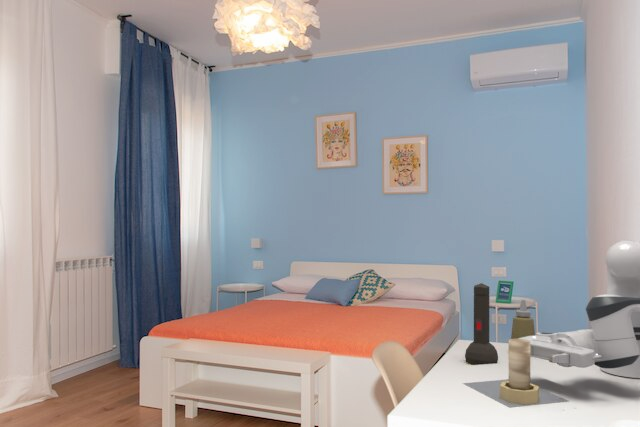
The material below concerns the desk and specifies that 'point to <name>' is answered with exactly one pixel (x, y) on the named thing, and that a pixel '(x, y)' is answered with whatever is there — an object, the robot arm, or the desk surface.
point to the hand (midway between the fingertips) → (534, 355)
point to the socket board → (495, 393)
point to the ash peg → (519, 364)
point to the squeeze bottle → (522, 323)
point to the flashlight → (481, 330)
